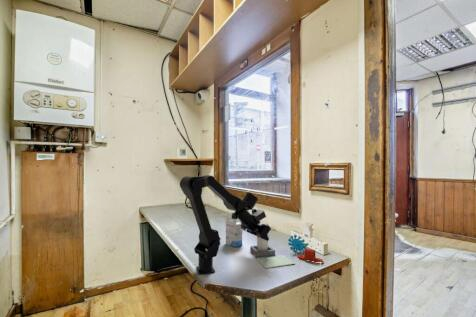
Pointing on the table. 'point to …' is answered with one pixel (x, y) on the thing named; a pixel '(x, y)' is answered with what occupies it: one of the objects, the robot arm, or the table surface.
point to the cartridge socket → (262, 252)
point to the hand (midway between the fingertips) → (264, 238)
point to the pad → (274, 261)
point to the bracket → (309, 256)
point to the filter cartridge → (262, 242)
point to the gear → (297, 244)
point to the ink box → (233, 232)
